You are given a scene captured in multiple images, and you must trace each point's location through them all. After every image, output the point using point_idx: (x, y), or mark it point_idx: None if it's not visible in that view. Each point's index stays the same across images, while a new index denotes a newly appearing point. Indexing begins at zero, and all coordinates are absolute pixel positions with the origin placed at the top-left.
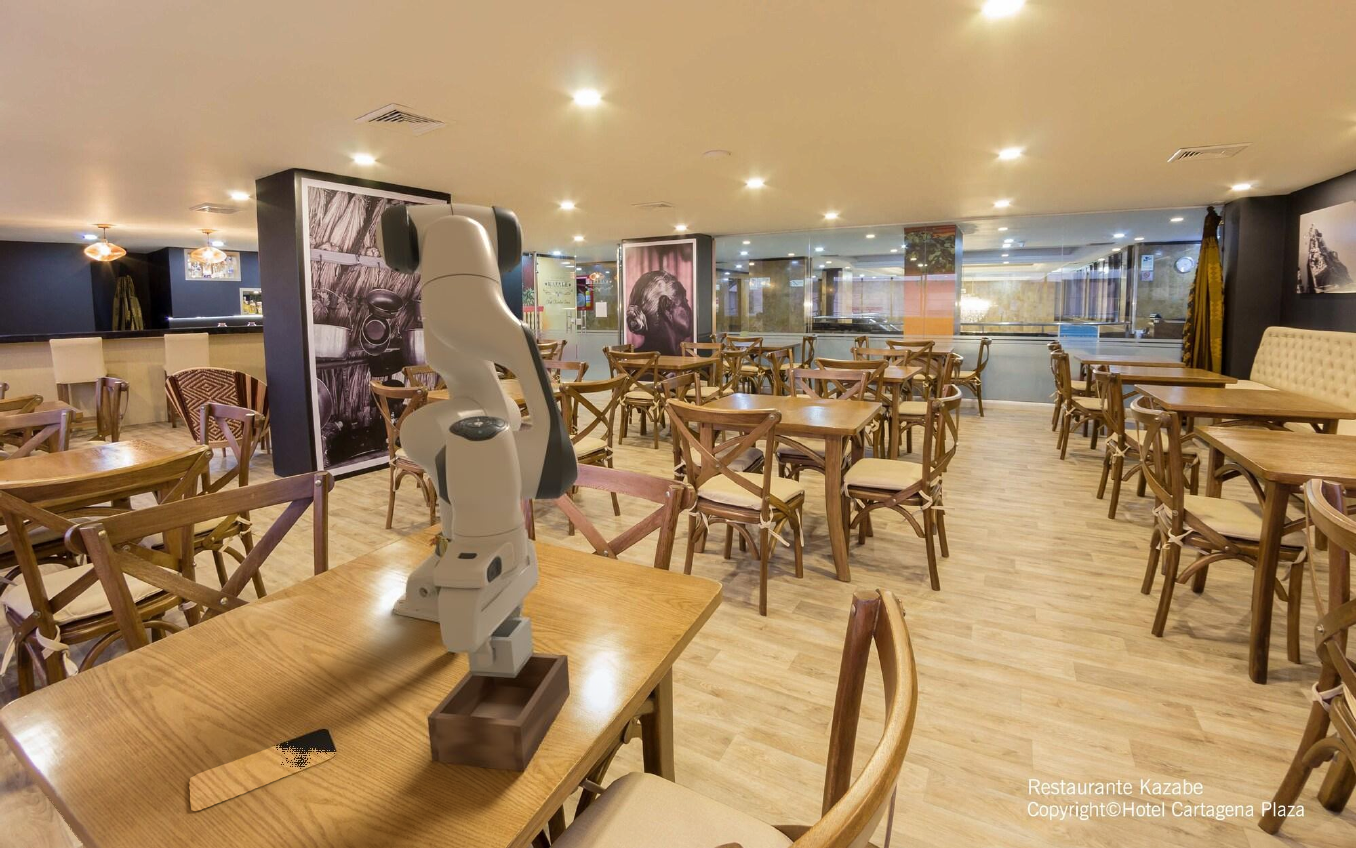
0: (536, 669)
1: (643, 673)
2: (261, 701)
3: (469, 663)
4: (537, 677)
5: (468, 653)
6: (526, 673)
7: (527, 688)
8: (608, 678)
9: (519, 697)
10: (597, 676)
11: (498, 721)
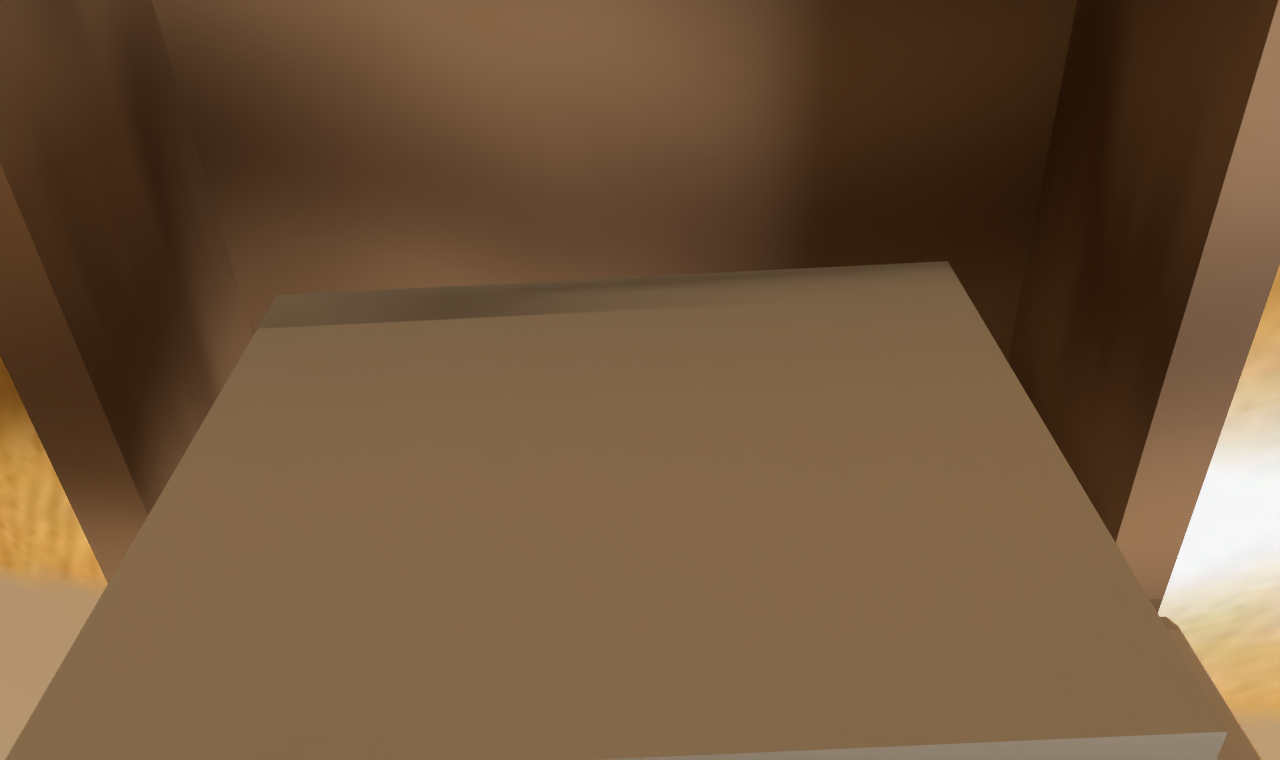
0: (1093, 354)
1: (1219, 691)
2: None
3: (226, 396)
4: (1062, 316)
5: (153, 520)
6: (1094, 241)
7: (1039, 178)
8: (1190, 559)
9: (909, 171)
10: (1223, 501)
11: (125, 550)
